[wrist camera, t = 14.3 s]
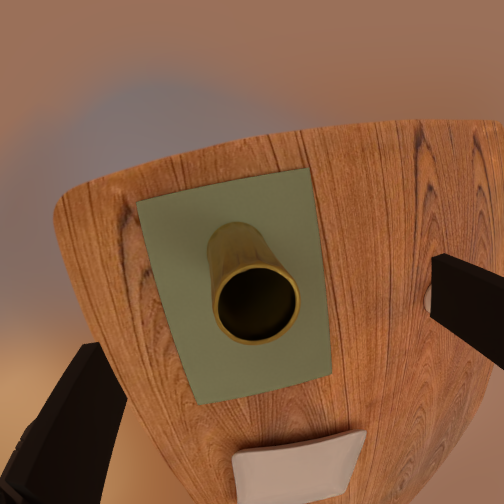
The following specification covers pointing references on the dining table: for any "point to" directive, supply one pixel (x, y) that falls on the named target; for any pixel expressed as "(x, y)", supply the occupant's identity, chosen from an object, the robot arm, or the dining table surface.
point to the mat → (199, 283)
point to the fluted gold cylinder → (250, 286)
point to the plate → (297, 469)
